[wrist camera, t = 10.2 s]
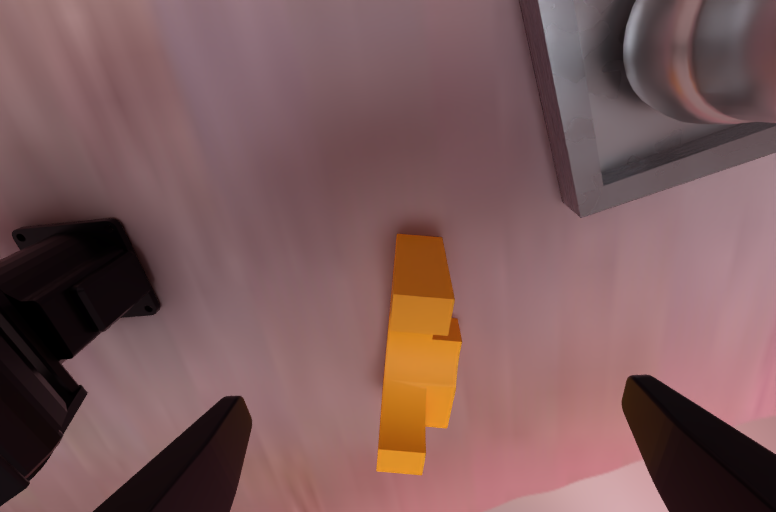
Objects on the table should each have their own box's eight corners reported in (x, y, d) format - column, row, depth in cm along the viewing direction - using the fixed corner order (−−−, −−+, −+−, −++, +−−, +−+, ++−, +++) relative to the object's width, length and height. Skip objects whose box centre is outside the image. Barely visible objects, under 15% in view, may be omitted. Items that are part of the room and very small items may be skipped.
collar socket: (563, 201, 20) (580, 217, 18) (505, -64, 15) (521, -85, 13) (826, 110, 17) (883, 116, 15) (862, -247, 12) (952, -308, 10)
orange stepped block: (442, 389, 27) (452, 478, 21) (383, 384, 27) (376, 471, 21) (472, 238, 21) (496, 303, 15) (396, 232, 21) (393, 294, 16)
